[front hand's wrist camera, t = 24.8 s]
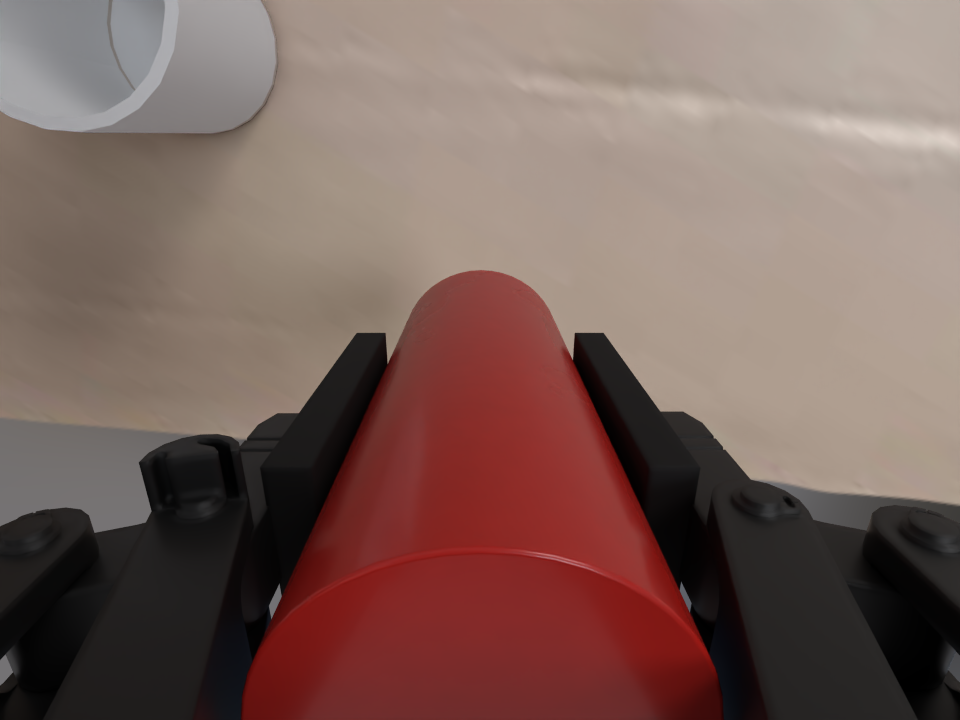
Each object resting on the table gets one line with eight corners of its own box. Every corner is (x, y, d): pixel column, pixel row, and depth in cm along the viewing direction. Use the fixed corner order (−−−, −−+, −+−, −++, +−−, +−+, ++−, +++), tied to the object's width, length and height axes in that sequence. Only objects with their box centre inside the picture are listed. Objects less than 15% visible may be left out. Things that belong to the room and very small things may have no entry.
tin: (374, 359, 17) (154, 773, 6) (465, 236, 16) (424, 447, 4) (494, 440, 18) (517, 929, 7) (589, 332, 17) (830, 712, 5)
